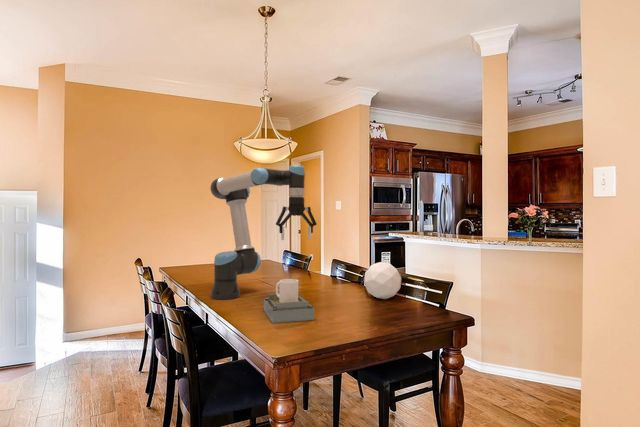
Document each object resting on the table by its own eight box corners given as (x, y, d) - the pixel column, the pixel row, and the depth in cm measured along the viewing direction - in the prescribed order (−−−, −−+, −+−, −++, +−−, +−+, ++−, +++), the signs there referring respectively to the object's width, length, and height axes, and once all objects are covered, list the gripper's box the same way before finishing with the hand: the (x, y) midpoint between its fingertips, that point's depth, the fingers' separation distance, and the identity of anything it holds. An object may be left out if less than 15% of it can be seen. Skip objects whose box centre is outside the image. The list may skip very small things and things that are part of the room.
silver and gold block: (263, 309, 183) (263, 293, 183) (301, 307, 188) (301, 291, 188) (272, 323, 162) (272, 305, 162) (314, 319, 167) (314, 302, 167)
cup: (289, 306, 168) (289, 283, 168) (269, 302, 175) (269, 279, 175) (301, 303, 175) (302, 280, 175) (282, 299, 182) (282, 277, 182)
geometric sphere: (382, 308, 216) (393, 276, 225) (401, 303, 198) (412, 268, 207) (353, 291, 213) (365, 260, 222) (369, 285, 196) (382, 251, 205)
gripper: (273, 196, 187) (272, 240, 187) (323, 197, 194) (322, 240, 195) (270, 196, 194) (269, 239, 194) (318, 197, 201) (318, 238, 202)
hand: (296, 239), depth 194 cm, fingers open, 13 cm apart
